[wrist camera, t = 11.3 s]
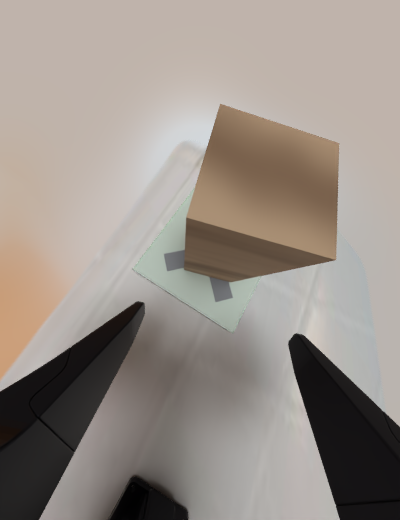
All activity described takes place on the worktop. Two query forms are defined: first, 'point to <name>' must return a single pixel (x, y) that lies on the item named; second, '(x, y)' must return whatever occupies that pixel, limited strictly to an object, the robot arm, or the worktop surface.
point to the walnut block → (262, 200)
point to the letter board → (193, 276)
